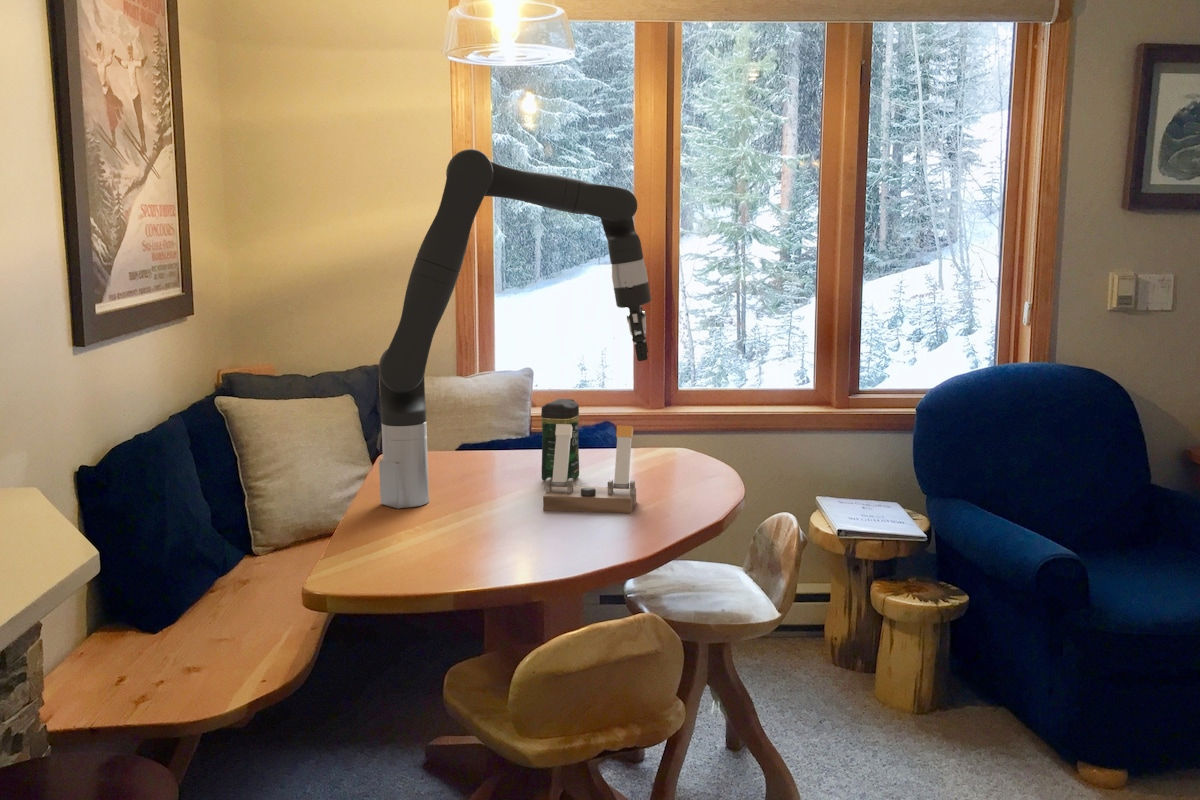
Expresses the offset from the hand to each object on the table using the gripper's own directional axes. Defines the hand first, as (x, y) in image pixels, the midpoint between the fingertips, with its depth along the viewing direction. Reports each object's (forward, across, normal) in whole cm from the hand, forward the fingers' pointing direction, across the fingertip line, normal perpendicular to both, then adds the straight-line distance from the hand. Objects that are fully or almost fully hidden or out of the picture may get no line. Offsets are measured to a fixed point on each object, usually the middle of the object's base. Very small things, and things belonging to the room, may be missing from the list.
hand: (643, 357), depth 226 cm
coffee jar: (+26, -8, -24) cm, 36 cm away
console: (+27, +16, -15) cm, 34 cm away
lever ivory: (+21, +15, -21) cm, 33 cm away
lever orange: (+23, +16, -8) cm, 29 cm away
